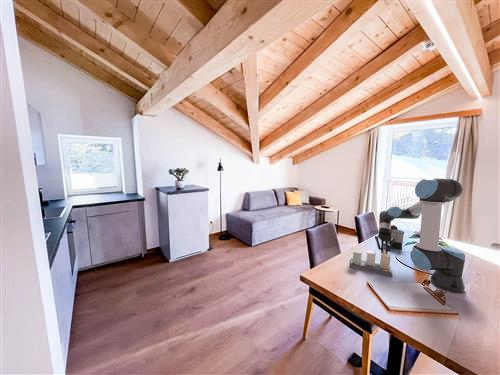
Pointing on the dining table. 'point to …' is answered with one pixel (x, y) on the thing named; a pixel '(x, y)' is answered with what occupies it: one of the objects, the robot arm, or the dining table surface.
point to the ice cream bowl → (393, 227)
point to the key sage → (357, 257)
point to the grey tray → (371, 268)
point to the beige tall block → (385, 261)
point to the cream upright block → (370, 258)
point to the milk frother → (396, 239)
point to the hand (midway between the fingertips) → (384, 259)
